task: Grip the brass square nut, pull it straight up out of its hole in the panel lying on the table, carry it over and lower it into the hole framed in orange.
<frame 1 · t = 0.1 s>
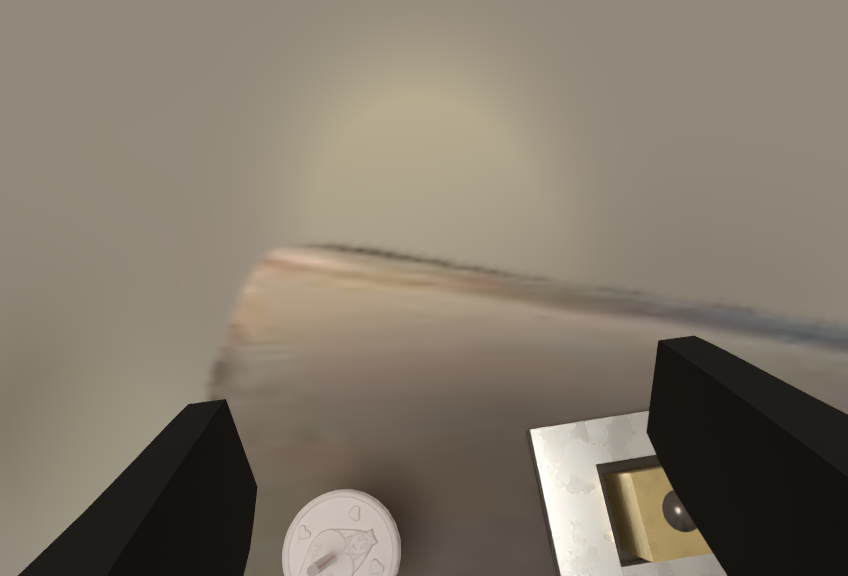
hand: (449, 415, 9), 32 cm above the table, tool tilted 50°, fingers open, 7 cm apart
smoothie: (364, 535, 38), on the table
brass nut: (646, 505, 38), resting in panel
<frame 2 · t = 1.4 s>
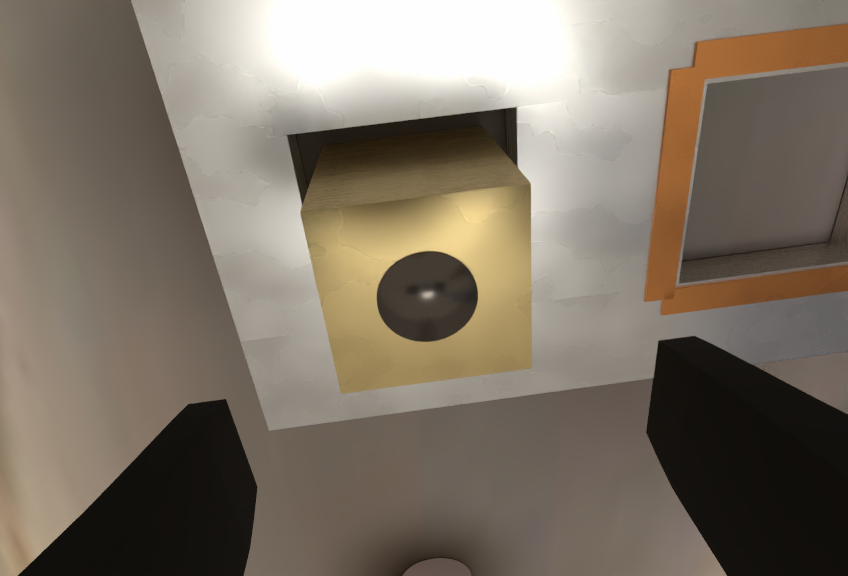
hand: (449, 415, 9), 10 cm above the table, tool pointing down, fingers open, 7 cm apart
brass nut: (411, 210, 18), resting in panel
panel: (588, 189, 18), on the table
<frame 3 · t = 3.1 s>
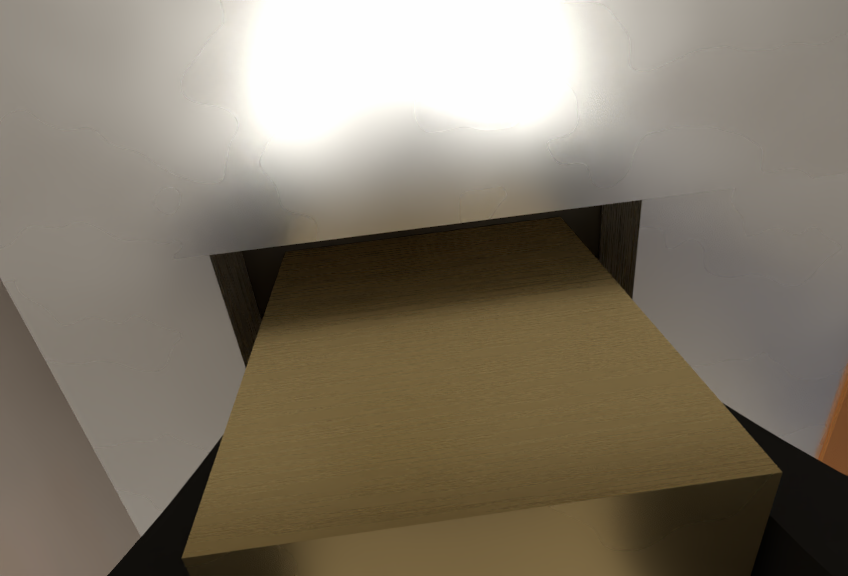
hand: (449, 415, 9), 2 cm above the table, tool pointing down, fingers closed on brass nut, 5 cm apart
brass nut: (436, 347, 11), resting in panel, touching gripper
panel: (726, 309, 11), on the table
when the fingers open (3 cm above the table, at t = 7.5 s): brass nut drops 1 cm, resting in panel.
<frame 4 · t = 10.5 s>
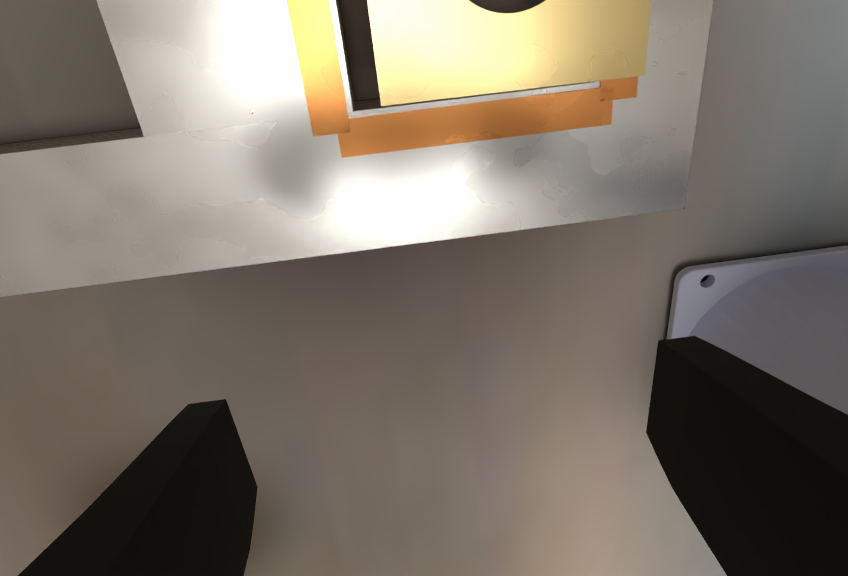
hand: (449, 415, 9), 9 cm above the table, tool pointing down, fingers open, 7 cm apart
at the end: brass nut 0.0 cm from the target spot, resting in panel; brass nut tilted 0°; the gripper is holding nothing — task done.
